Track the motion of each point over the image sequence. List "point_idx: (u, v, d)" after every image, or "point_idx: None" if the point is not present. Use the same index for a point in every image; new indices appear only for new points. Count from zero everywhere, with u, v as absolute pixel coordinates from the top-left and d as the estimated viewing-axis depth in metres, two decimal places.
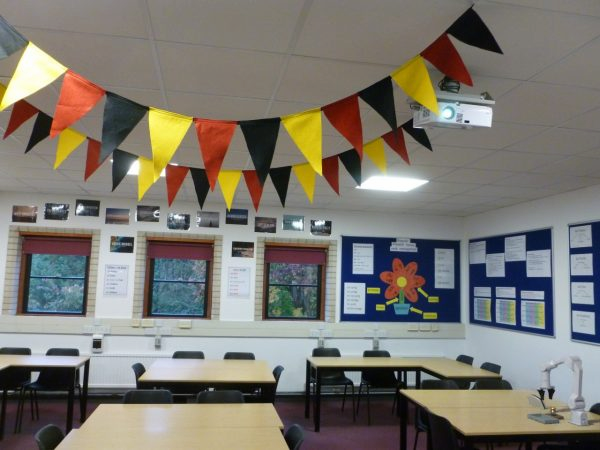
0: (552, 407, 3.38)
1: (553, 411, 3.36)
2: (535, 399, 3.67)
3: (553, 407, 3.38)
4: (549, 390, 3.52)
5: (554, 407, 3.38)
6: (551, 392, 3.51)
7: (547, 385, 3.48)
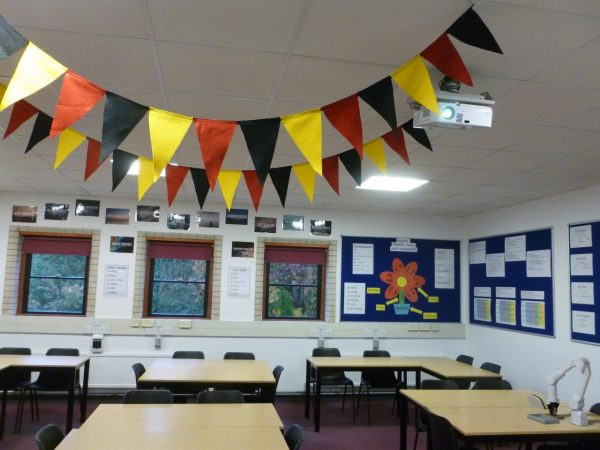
0: None
1: None
2: (535, 399, 3.67)
3: None
4: (553, 404, 3.40)
5: (554, 407, 3.38)
6: (556, 406, 3.38)
7: (555, 399, 3.36)
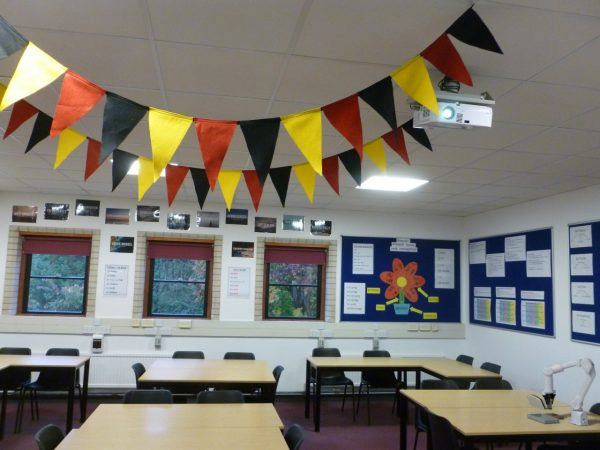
0: None
1: None
2: (535, 399, 3.67)
3: None
4: (549, 395, 3.38)
5: (550, 398, 3.37)
6: (552, 397, 3.37)
7: (551, 390, 3.35)
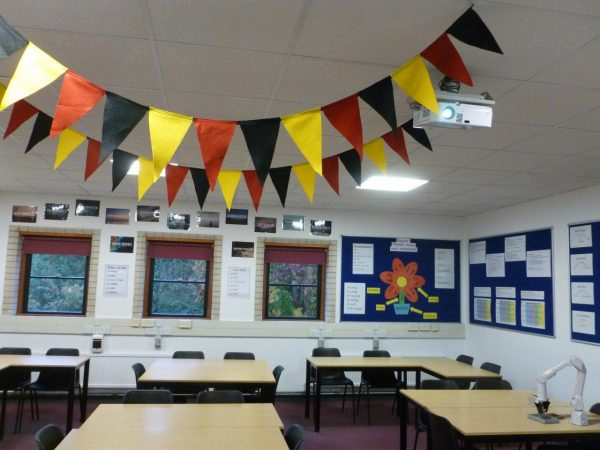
0: (542, 408, 3.31)
1: (543, 412, 3.29)
2: (535, 399, 3.67)
3: (543, 408, 3.31)
4: (544, 402, 3.34)
5: None
6: (546, 404, 3.32)
7: (544, 398, 3.29)
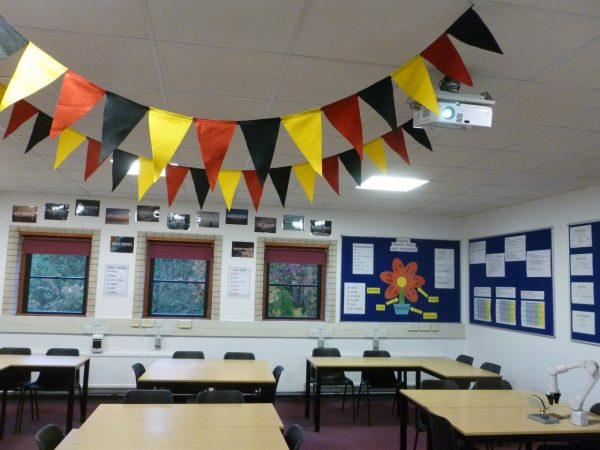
0: (542, 408, 3.31)
1: (543, 412, 3.29)
2: (535, 399, 3.67)
3: (543, 408, 3.31)
4: (555, 394, 3.39)
5: None
6: (557, 396, 3.37)
7: (556, 389, 3.34)
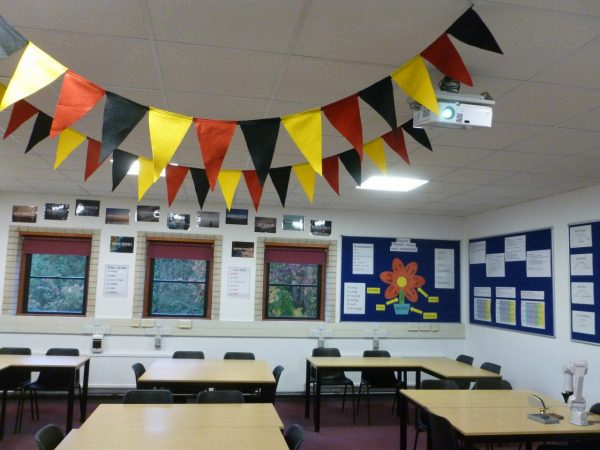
0: (542, 408, 3.31)
1: (543, 412, 3.29)
2: (535, 399, 3.67)
3: (543, 408, 3.31)
4: (570, 393, 3.45)
5: None
6: (573, 395, 3.43)
7: (571, 388, 3.40)
